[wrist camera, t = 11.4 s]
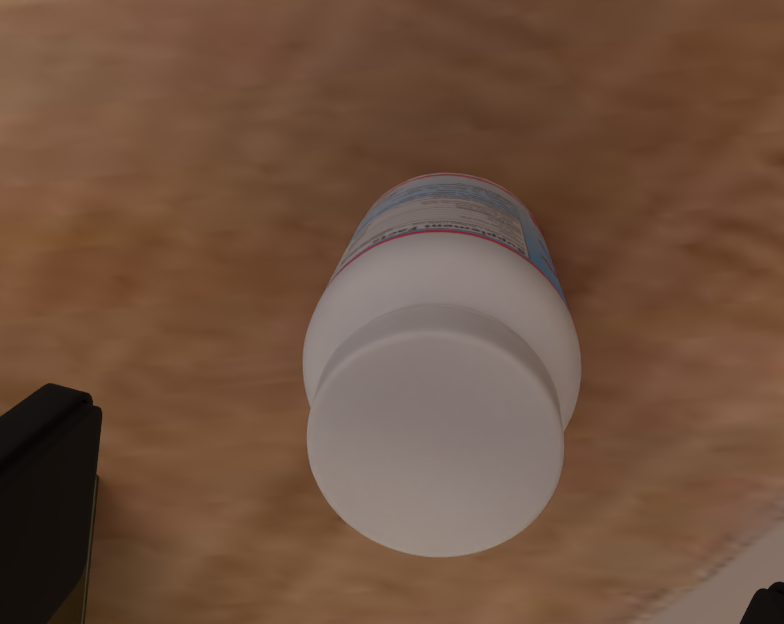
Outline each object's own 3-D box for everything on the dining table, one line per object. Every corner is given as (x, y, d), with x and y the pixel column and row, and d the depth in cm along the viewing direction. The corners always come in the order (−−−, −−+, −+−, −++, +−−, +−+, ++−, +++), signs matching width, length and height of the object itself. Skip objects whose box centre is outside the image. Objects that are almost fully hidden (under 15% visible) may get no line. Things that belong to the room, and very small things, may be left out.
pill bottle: (520, 364, 24) (560, 621, 14) (340, 329, 25) (247, 556, 14) (568, 186, 22) (658, 335, 12) (369, 148, 22) (283, 261, 12)
